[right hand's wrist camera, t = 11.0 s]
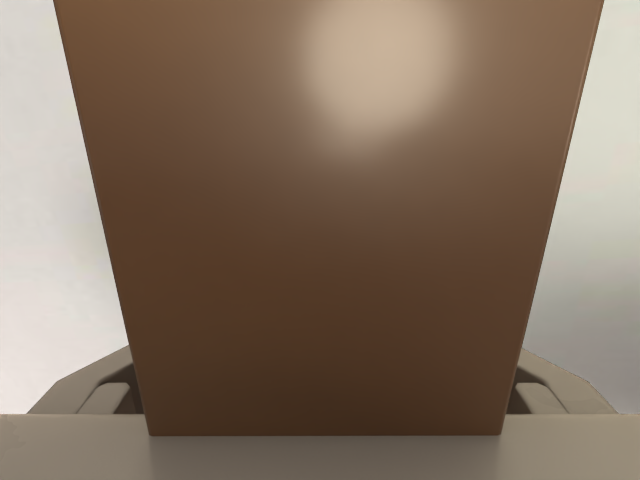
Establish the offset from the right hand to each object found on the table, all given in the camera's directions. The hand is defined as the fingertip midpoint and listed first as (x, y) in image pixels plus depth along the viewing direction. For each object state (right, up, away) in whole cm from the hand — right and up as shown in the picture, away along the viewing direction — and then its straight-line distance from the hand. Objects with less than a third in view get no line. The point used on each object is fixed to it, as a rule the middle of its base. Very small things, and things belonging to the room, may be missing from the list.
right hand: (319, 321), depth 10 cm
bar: (0, +10, 0) cm, 10 cm away
